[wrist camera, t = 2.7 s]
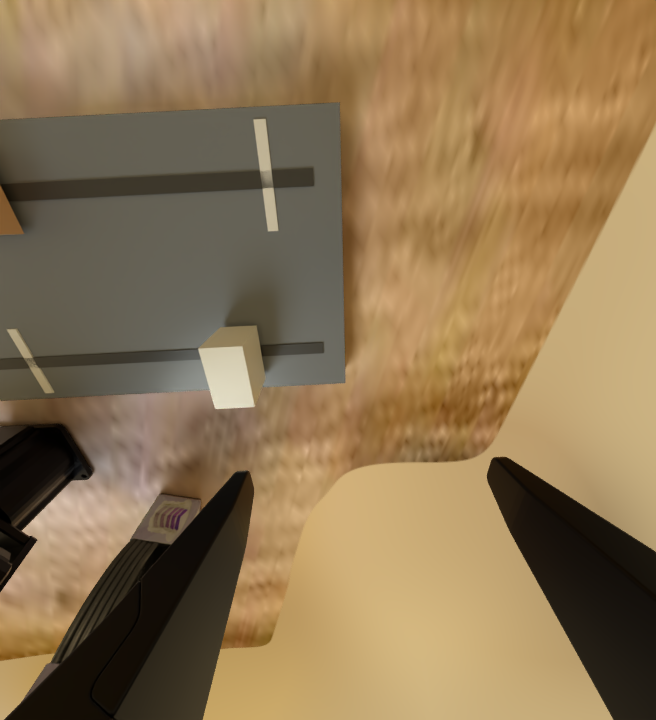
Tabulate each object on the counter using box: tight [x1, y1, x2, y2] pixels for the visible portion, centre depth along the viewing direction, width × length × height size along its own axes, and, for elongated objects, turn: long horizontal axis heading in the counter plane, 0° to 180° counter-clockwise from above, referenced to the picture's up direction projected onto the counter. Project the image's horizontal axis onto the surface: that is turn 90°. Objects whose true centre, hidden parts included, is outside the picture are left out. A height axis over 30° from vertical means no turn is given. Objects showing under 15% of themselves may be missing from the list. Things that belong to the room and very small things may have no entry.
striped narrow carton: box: [23, 494, 201, 700], centre depth 24 cm, size 19×5×18 cm, turn 166°
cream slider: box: [198, 325, 266, 409], centre depth 17 cm, size 4×2×4 cm, turn 2°
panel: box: [0, 102, 345, 401], centre depth 17 cm, size 16×26×2 cm, turn 93°
